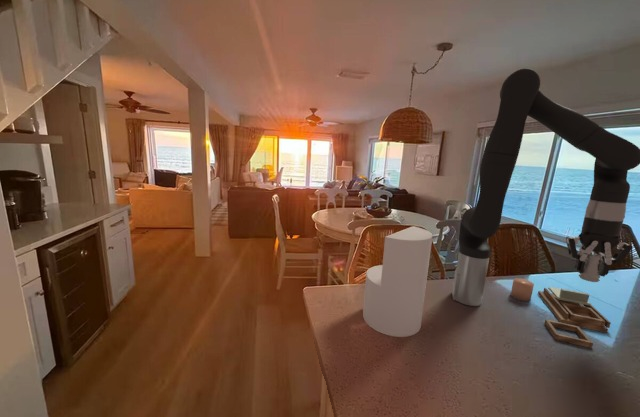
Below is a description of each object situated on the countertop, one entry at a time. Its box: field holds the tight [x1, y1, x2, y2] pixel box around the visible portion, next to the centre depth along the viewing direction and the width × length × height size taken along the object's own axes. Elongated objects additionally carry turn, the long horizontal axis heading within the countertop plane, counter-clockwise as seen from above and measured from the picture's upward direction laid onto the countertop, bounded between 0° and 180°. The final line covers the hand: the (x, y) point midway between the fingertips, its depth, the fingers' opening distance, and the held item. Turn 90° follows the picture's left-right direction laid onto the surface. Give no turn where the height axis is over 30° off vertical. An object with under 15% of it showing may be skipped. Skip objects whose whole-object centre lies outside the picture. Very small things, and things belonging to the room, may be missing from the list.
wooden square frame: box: [544, 318, 594, 349], centre depth 77 cm, size 8×8×2 cm
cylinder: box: [362, 225, 433, 338], centre depth 79 cm, size 17×17×28 cm
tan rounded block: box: [510, 277, 535, 302], centre depth 97 cm, size 6×6×6 cm
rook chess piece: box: [578, 251, 602, 283], centre depth 77 cm, size 4×4×8 cm
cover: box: [547, 286, 592, 305], centre depth 92 cm, size 8×8×4 cm
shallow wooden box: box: [537, 287, 611, 334], centre depth 89 cm, size 12×20×3 cm, turn 157°
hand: (589, 273), depth 78 cm, fingers closed on rook chess piece, 4 cm apart
